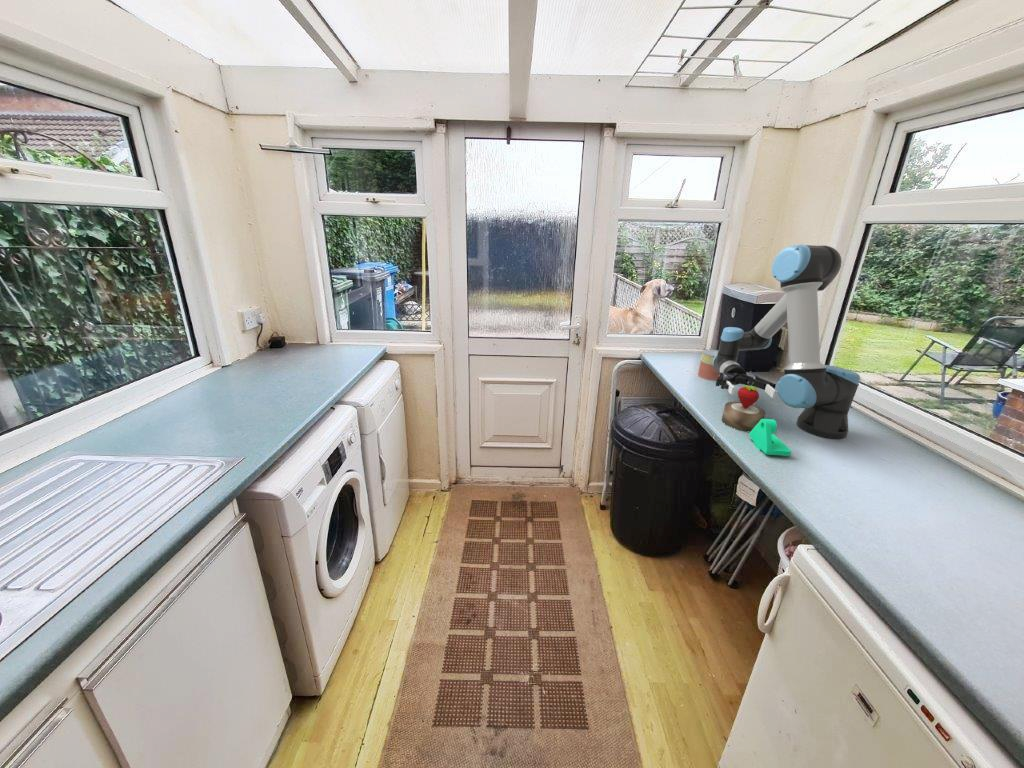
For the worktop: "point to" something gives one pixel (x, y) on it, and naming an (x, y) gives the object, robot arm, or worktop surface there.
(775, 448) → the camera mount
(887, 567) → the worktop surface
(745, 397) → the strawberry
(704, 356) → the canned food
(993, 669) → the worktop surface
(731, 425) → the bronze puck
